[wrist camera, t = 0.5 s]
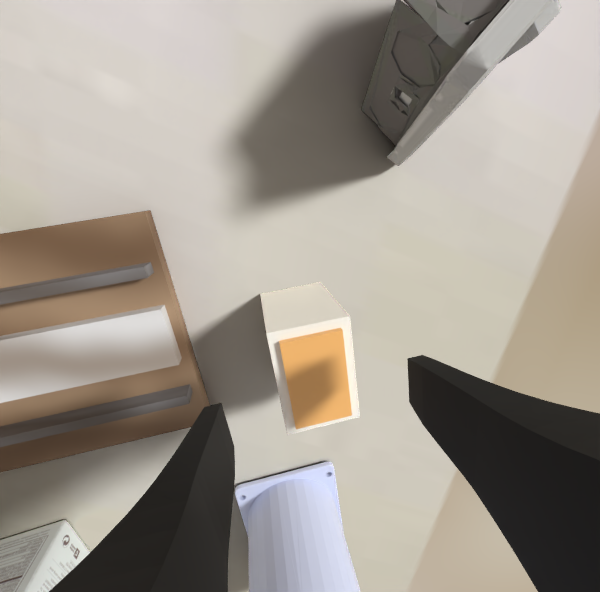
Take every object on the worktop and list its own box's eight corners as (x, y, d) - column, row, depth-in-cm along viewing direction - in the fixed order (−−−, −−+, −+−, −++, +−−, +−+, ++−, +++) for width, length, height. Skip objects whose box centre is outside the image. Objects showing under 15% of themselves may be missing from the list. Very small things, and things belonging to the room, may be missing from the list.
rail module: (330, 359, 22) (362, 420, 16) (276, 372, 21) (288, 439, 16) (320, 281, 20) (351, 318, 14) (260, 293, 19) (266, 336, 14)
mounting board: (212, 412, 22) (208, 435, 19) (-70, 478, 20) (-106, 511, 17) (150, 210, 17) (136, 212, 15) (-229, 270, 15) (-306, 282, 13)
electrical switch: (392, 171, 18) (508, 128, 10) (330, 106, 17) (397, -14, 8) (506, 40, 17) (761, -150, 8) (449, -40, 16) (676, -364, 7)
